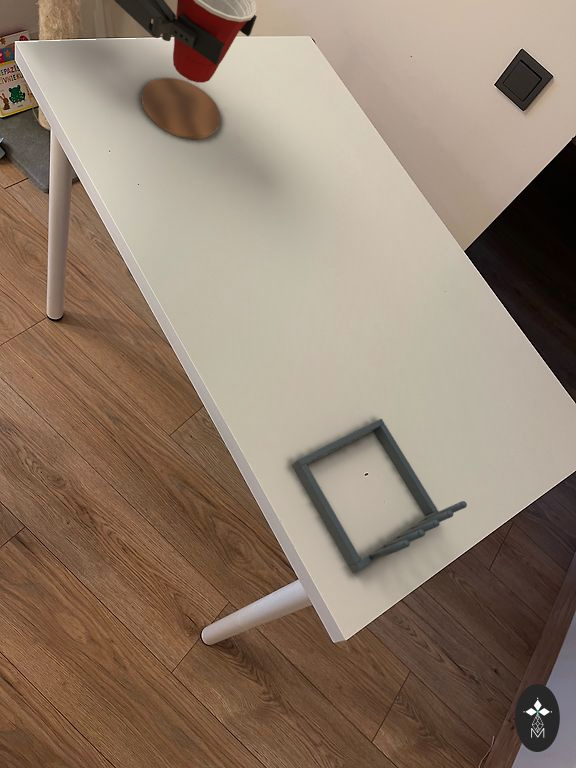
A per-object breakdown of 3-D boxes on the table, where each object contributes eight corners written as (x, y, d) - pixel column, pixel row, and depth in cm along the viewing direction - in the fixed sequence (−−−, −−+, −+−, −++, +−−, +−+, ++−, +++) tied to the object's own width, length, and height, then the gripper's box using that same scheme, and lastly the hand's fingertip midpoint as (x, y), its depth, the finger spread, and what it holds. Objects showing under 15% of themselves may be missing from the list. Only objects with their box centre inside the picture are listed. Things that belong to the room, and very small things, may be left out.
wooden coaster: (166, 144, 86) (167, 141, 86) (127, 84, 89) (127, 80, 88) (233, 134, 93) (234, 131, 93) (195, 78, 95) (196, 75, 95)
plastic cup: (244, 91, 87) (274, 13, 78) (184, 101, 81) (209, 18, 71) (202, 38, 89) (227, -44, 79) (140, 44, 83) (159, -44, 73)
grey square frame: (291, 464, 71) (325, 436, 64) (374, 423, 79) (413, 394, 71) (352, 572, 68) (395, 556, 60) (432, 518, 76) (479, 498, 68)
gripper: (130, -59, 86) (261, 34, 89) (35, -8, 74) (190, 99, 76) (139, -117, 80) (279, -15, 83) (38, -72, 68) (206, 47, 70)
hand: (236, 40), depth 79 cm, fingers closed on plastic cup, 9 cm apart
